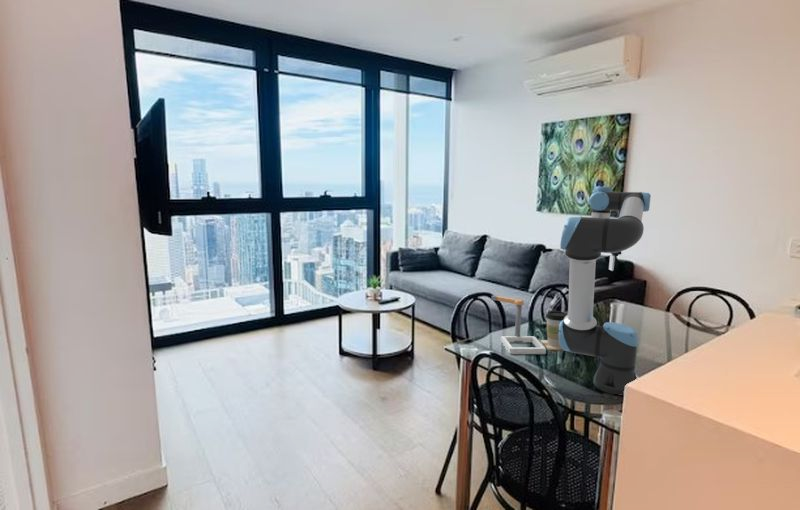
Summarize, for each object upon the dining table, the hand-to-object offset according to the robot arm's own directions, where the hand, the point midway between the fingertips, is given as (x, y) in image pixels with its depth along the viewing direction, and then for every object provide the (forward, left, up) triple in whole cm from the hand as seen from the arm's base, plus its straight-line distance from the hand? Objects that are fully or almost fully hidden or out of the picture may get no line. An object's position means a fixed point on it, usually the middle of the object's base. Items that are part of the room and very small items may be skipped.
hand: (596, 270), depth 199 cm
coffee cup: (+4, +15, -36) cm, 39 cm away
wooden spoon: (+14, +35, -18) cm, 42 cm away
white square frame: (+3, +30, -37) cm, 48 cm away
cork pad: (+4, +13, -37) cm, 39 cm away
